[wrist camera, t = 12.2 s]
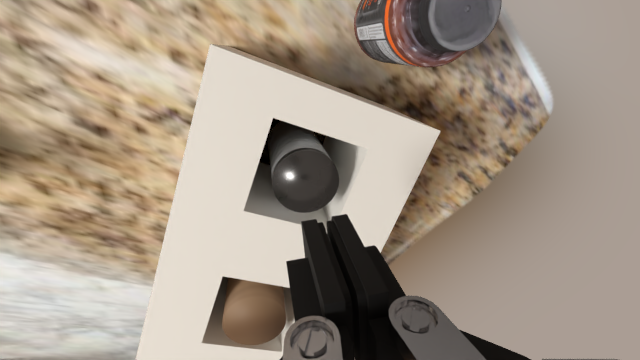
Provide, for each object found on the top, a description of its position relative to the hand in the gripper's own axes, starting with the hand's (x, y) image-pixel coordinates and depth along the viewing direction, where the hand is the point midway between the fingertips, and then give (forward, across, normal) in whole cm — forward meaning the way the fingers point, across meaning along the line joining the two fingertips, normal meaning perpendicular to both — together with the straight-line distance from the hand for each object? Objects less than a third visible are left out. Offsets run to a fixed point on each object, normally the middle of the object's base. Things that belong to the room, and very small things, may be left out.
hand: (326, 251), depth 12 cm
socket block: (+18, +2, +6) cm, 19 cm away
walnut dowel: (+16, +4, +11) cm, 20 cm away
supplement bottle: (+18, -10, -8) cm, 22 cm away
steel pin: (+17, 0, +1) cm, 17 cm away
